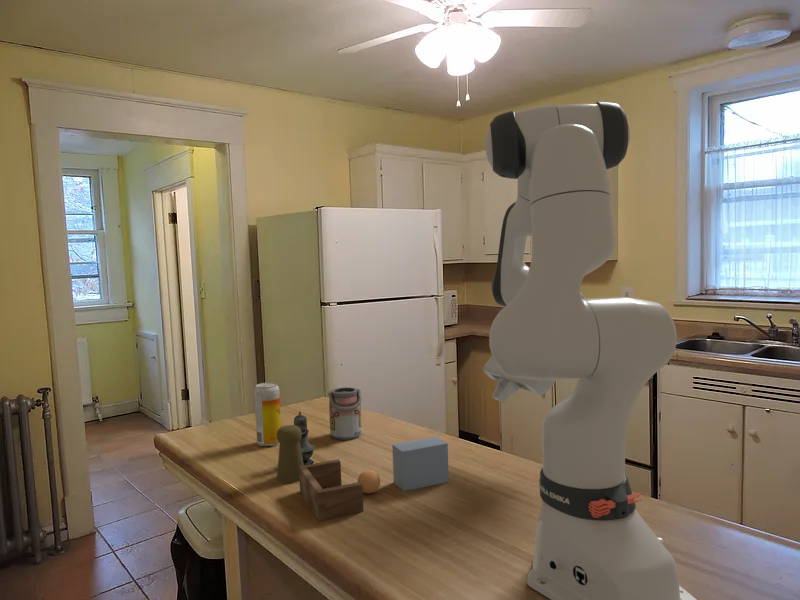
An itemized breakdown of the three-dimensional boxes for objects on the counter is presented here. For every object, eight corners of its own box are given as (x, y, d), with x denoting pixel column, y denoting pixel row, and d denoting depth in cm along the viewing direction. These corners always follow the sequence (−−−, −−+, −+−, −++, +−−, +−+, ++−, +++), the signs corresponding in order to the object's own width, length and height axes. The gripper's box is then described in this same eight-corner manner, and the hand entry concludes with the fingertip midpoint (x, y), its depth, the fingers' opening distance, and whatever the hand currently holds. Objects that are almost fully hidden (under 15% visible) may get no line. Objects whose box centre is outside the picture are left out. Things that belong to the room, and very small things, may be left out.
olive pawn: (299, 483, 117) (297, 431, 116) (272, 482, 118) (269, 430, 117) (310, 472, 122) (307, 422, 122) (283, 471, 124) (281, 422, 123)
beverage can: (365, 440, 143) (363, 393, 142) (332, 443, 141) (330, 396, 140) (359, 429, 152) (358, 385, 151) (328, 432, 150) (326, 388, 149)
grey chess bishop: (303, 470, 124) (300, 416, 123) (283, 465, 127) (280, 413, 126) (320, 461, 129) (318, 409, 128) (301, 457, 132) (298, 406, 131)
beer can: (286, 441, 144) (284, 383, 143) (269, 449, 139) (266, 388, 138) (269, 438, 147) (266, 381, 146) (251, 445, 142) (248, 386, 141)
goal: (363, 511, 103) (362, 484, 103) (319, 520, 100) (317, 493, 99) (339, 483, 116) (338, 459, 116) (300, 490, 113) (298, 466, 113)
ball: (383, 494, 110) (383, 472, 110) (362, 499, 108) (361, 476, 108) (375, 486, 114) (375, 464, 114) (354, 490, 112) (354, 468, 112)
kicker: (448, 482, 115) (447, 443, 115) (403, 491, 111) (402, 451, 111) (437, 473, 120) (436, 436, 119) (393, 482, 116) (392, 444, 115)
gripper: (499, 335, 133) (463, 381, 130) (555, 346, 114) (515, 400, 111) (515, 352, 135) (480, 397, 132) (573, 366, 117) (534, 419, 113)
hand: (497, 399), depth 122 cm, fingers closed
